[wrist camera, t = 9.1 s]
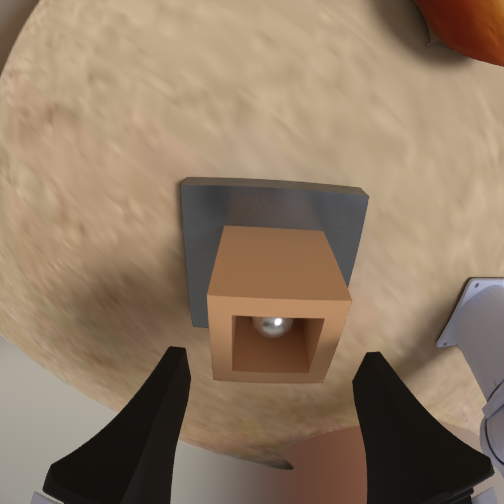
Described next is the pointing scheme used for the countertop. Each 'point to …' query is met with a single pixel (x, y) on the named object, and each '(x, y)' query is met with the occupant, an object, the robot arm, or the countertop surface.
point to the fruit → (467, 27)
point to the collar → (275, 305)
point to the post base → (268, 216)
